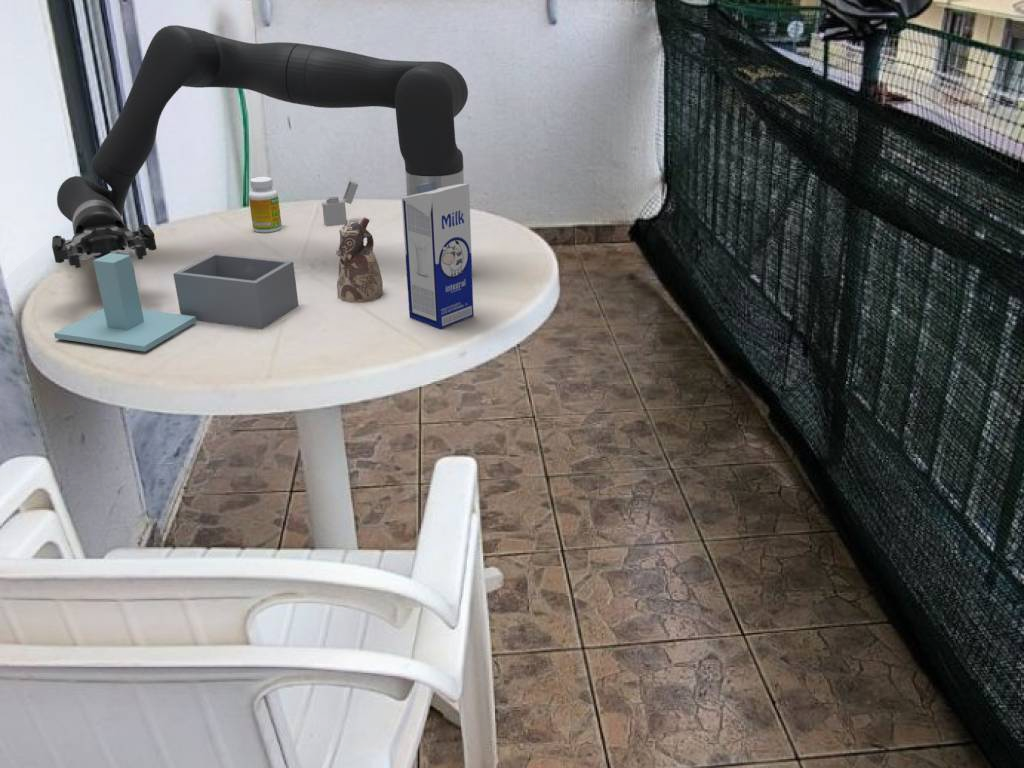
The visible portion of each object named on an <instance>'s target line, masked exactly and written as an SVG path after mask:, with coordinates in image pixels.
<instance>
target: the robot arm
mask: <svg viewBox="0 0 1024 768" xmlns="http://www.w3.org/2000/svg"><path fill="white" fill-rule="evenodd" d="M182 87H186V88H187V87H188V88H199V89H201V88H224V89H225V88H228V89H240V90H241V89H242V90H249V91H252V92H256V93H259V94H261V95H263V96H266V97H269V98H272V99H275V100H278V101H281V102H287V103H289V104H295V105H296V104H297V105H302V106H308V107H314V108H324V109H349V108H365V107H366V108H369V107H381V108H389V109H395V117H396V118H395V119H396V127H397V138H398V146H399V152H400V154H401V156H402V159H403V162H404V168H405V184H406V185H405V186H406V197H407V196H411V195H415V194H418V191H417V187H416V186H418V185H422V184H425V183H430V182H434V181H436V185H437V189H438V188H443V187H448V186H452V185H457V184H465V181H464V180H465V178H464V174H465V173H464V156H463V152H462V150H460V148H458V145H457V142H456V133H455V132H456V131H455V118H456V117H457V116H458V115H459V114H460V113H461V111H462V110H463V109H464V107H466V106H465V105H466V103H467V101H468V97H469V92H468V91H469V90H468V84H467V82H466V80H465V78H464V76H463V75H462V74H461V72H459V71H458V69H456V68H455V67H453V66H452V65H450V64H448V63H445V62H441V61H433V60H432V61H423V60H422V61H417V60H415V61H414V60H412V61H411V60H394V59H392V60H391V59H386V58H377V57H375V56H374V57H373V56H370V55H366V54H361V53H356V52H350V51H347V50H340V49H336V48H332V47H327V46H326V47H325V46H319V45H315V44H313V45H312V44H308V43H307V44H305V43H298V42H280V41H279V42H263V43H254V42H252V43H251V42H244V41H241V40H235V39H231V38H229V37H224V36H220V35H218V34H214V33H211V32H207V31H205V30H201V29H199V28H193V27H189V26H184V25H177V24H176V25H173V24H172V25H167V26H164V27H162V28H161V29H159V30H158V31H157V32H156V33H155V34H154V35H153V37H152V39H151V41H150V43H149V45H148V47H147V49H146V51H145V54H144V56H143V59H142V62H141V63H140V67H139V70H138V72H137V75H136V77H135V79H134V81H133V84H132V86H131V88H130V91H129V94H128V96H127V97H126V100H125V103H124V105H123V107H122V110H121V111H120V113H119V115H118V117H117V119H116V121H115V122H114V124H113V126H112V128H111V129H110V131H109V132H108V134H107V136H105V139H104V140H103V141H102V143H101V145H100V146H99V148H98V150H97V151H96V153H95V154H94V156H93V158H92V159H91V168H92V170H93V172H94V173H95V175H96V176H97V177H99V179H101V180H102V181H103V182H105V183H106V184H107V185H108V186H109V187H110V188H111V190H110V189H108V188H106V187H103V186H101V185H100V184H98V183H96V182H94V181H92V180H90V179H88V178H86V177H84V176H80V175H75V176H71V177H68V178H67V179H65V180H64V181H63V182H62V183H61V185H59V189H58V191H57V195H56V204H57V205H56V206H57V207H58V210H59V212H60V213H61V214H62V215H63V216H64V217H65V218H66V219H68V221H70V222H71V223H72V224H71V226H72V230H73V236H72V238H71V239H65V237H62V236H61V235H54V236H52V241H51V250H52V253H53V257H54V261H55V263H57V264H61V263H64V262H65V260H67V261H68V263H69V265H70V266H71V267H73V266H75V269H79V268H81V263H80V260H83V261H87V260H89V259H90V258H95V259H98V258H100V257H102V256H105V255H107V254H109V253H116V254H125V255H131V254H133V253H135V256H136V258H137V260H143V259H144V257H145V256H147V254H148V253H147V252H148V251H155V250H157V249H158V247H157V245H156V238H155V232H154V231H153V229H152V228H151V227H150V226H149V225H148V224H141V225H139V227H138V228H137V230H135V231H132V230H131V229H129V228H126V227H127V226H125V225H126V224H125V223H124V220H123V218H122V217H123V213H124V208H125V203H126V200H127V195H128V193H129V190H130V187H131V186H132V183H133V181H134V180H135V178H136V176H137V175H138V173H139V172H140V170H141V169H142V167H143V166H144V165H145V163H146V161H147V159H148V157H149V155H151V153H152V150H153V148H154V145H155V141H156V137H157V131H158V127H159V121H160V119H161V116H162V113H163V112H164V109H165V107H166V106H167V104H168V102H169V101H170V100H171V99H172V98H173V97H174V95H175V94H176V93H177V92H178V91H179V90H180V89H181V88H182ZM147 250H148V251H147Z"/></svg>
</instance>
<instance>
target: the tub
mask: <svg viewBox="0 0 1024 768" xmlns="http://www.w3.org/2000/svg"><path fill="white" fill-rule="evenodd" d="M173 279H174V286H175V291H176V296H177V302H178V307H179V312H180V313H179V314H182V315H189V316H196V321H199V322H208V323H215V324H221V325H229V326H235V327H236V326H237V327H245V328H254V329H258V330H259V329H261V330H263V329H264V328H266V327H268V326H269V325H270V324H272V323H273V322H275V321H277V320H278V319H279V318H281V317H283V316H284V315H286V314H287V313H288V312H290V311H292V310H293V309H294V308H296V307H298V306H299V298H298V290H297V280H296V274H295V265H294V261H292V260H283V259H275V258H273V259H272V258H266V257H265V258H263V257H253V256H244V255H235V254H226V253H215V252H213V253H211V254H209V255H207V256H205V257H204V258H202V259H199V260H198V261H195V262H194V263H192V264H190V265H188V266H185V267H184V268H182V269H179V270H177V271H176V272H173Z"/></svg>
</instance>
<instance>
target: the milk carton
mask: <svg viewBox="0 0 1024 768" xmlns="http://www.w3.org/2000/svg"><path fill="white" fill-rule="evenodd" d="M416 187H417V191H418V194H415V195H411V196H407V195H406V196H404V197H401V198H400V199H401V205H402V206H401V208H402V209H401V210H402V223H403V236H404V237H403V238H404V240H403V241H404V253H405V268H406V271H405V272H406V282H407V300H408V312H409V314H408V315H409V319H412V320H415V321H418V322H420V323H422V324H425V325H427V326H431V327H434V328H436V329H438V330H441V329H444V328H447V327H449V326H452V325H455V324H457V323H459V322H462V321H464V320H467V319H469V318H472V317H474V292H473V289H474V288H473V286H474V285H473V261H472V260H473V259H472V258H473V257H472V237H471V236H472V233H471V231H472V230H471V206H470V203H471V201H470V198H471V197H470V183H464V184H457V185H452V186H448V187H443V188H438V189H437V185H436V181H434V182H430V183H425V184H422V185H418V186H416Z"/></svg>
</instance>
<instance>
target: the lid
mask: <svg viewBox="0 0 1024 768" xmlns="http://www.w3.org/2000/svg"><path fill="white" fill-rule="evenodd" d="M92 261H93V267H94V271H95V274H96V275H95V276H96V280H97V281H96V282H97V284H98V289H99V294H100V299H101V302H102V303H101V304H102V307H103V308H102V309H99V310H98V311H95V312H94V313H91V314H89V315H87V316H85V317H83V318H82V319H79V320H78V321H76V322H72V323H71V324H69V325H67V326H65V327H63V328H61V329H59V330H58V331H55V332H53V334H54V338H55V339H59V340H64V341H72V342H79V343H85V344H92V345H98V346H105V347H110V348H111V347H112V348H118V349H125V350H131V351H138V352H147V351H149V350H150V349H152V348H153V347H156V346H157V345H159V344H160V343H162V342H164V341H165V340H168V339H169V338H170V337H171V338H172V337H173V336H174V335H176V334H178V333H179V332H181V331H182V330H184V329H186V328H188V327H190V326H191V325H193V324H194V323H197V320H196V316H189V315H182V314H180V313H173V312H165V311H159V310H158V311H157V310H150V309H144V308H142V304H141V299H140V295H139V288H138V284H137V279H136V274H135V268H134V264H133V259H132V255H131V254H125V253H118V254H116V253H109V254H107V255H105V256H102V257H100V258H95V259H94V260H92Z"/></svg>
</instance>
